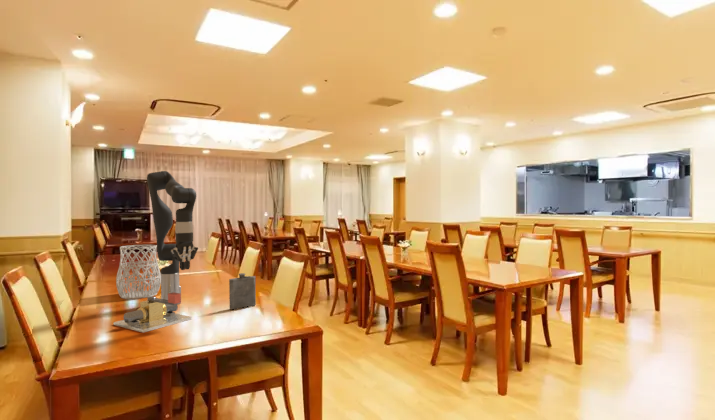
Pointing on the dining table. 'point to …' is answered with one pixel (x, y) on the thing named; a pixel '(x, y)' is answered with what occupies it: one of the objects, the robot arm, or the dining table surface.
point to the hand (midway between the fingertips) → (184, 269)
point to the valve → (151, 317)
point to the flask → (242, 291)
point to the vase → (140, 292)
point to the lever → (172, 299)
